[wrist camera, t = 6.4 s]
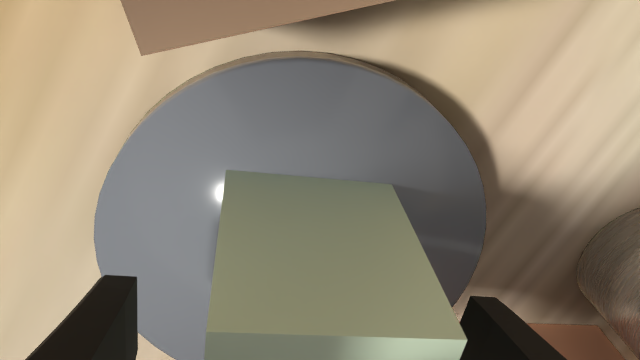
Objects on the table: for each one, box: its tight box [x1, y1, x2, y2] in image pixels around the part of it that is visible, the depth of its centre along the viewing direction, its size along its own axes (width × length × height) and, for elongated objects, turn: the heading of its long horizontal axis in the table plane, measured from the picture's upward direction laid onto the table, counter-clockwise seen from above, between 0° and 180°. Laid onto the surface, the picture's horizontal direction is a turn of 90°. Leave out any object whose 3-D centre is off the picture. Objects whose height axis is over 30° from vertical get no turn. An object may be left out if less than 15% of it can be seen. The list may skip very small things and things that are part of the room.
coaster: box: [94, 51, 486, 360], centre depth 13 cm, size 10×10×1 cm
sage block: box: [204, 170, 467, 360], centre depth 10 cm, size 4×4×5 cm
